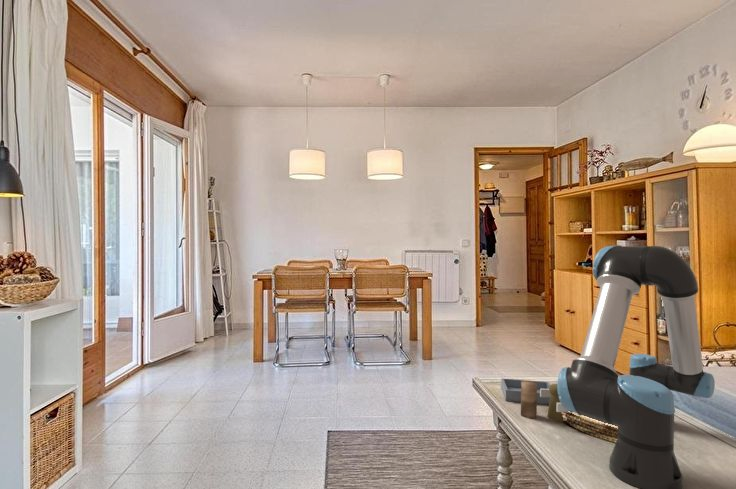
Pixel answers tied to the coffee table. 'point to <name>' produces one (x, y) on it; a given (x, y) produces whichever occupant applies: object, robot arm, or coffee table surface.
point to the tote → (513, 390)
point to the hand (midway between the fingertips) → (548, 399)
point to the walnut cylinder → (528, 399)
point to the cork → (554, 404)
